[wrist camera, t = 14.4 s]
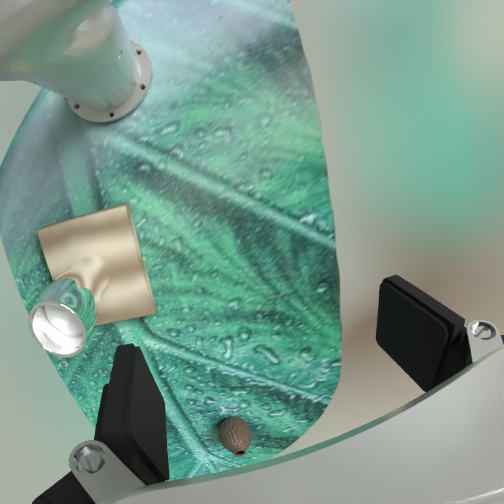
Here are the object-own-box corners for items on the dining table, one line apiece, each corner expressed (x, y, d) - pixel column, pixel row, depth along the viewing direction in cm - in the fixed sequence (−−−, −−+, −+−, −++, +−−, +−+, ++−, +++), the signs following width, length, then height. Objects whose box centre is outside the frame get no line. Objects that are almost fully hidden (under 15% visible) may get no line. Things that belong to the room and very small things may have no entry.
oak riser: (45, 226, 36) (37, 231, 34) (128, 202, 39) (125, 206, 36) (78, 319, 42) (73, 329, 39) (156, 304, 44) (155, 313, 42)
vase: (219, 411, 55) (226, 444, 47) (250, 412, 57) (261, 443, 49) (212, 431, 56) (219, 462, 48) (243, 431, 59) (252, 461, 50)
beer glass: (71, 294, 37) (36, 355, 24) (66, 248, 35) (20, 296, 22) (115, 296, 39) (93, 362, 25) (112, 249, 37) (82, 301, 23)
